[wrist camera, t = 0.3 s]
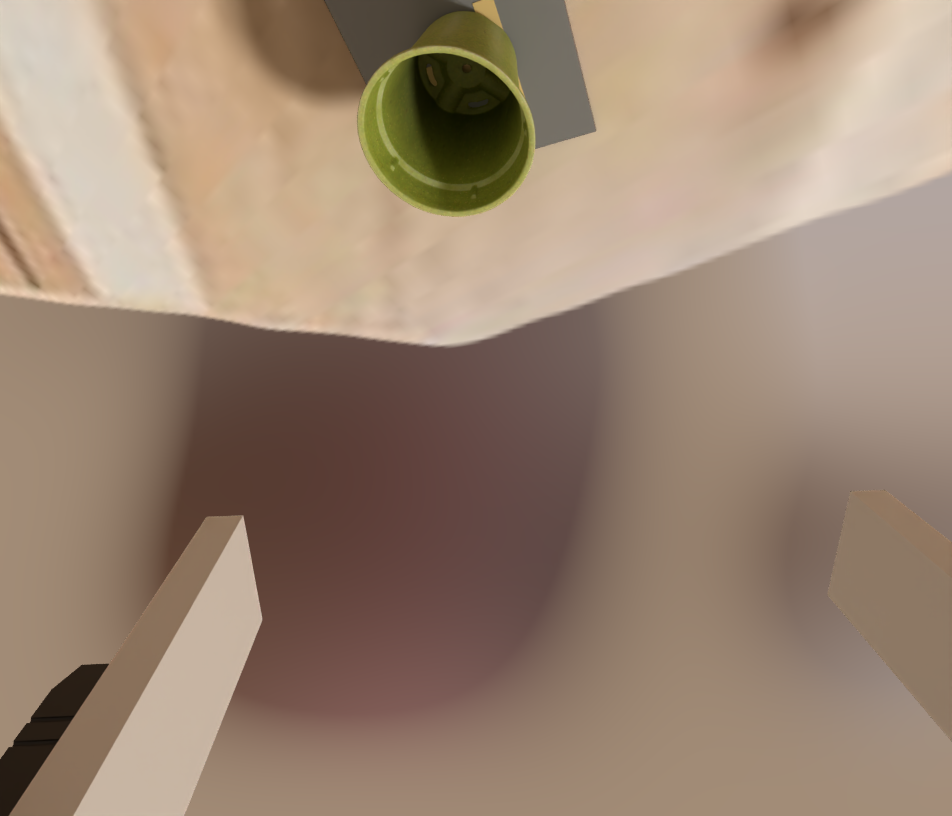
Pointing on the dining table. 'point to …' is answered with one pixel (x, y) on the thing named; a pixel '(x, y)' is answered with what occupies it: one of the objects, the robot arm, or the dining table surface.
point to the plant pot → (449, 119)
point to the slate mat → (538, 63)
